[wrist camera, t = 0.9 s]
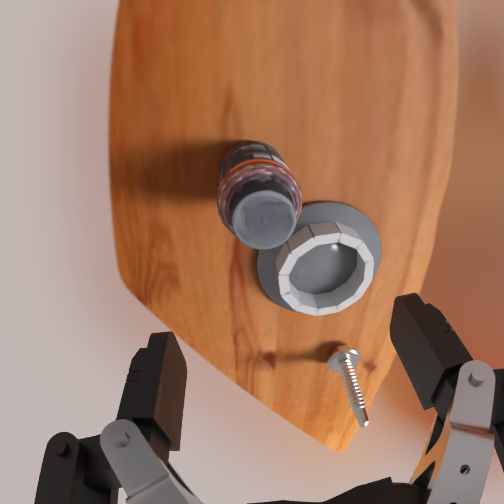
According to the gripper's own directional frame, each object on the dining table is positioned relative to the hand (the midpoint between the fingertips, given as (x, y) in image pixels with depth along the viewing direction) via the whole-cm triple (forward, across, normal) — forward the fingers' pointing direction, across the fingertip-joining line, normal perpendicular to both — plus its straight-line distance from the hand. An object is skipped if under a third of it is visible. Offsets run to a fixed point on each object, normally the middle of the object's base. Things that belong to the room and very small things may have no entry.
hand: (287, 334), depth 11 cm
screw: (+21, -9, +27) cm, 35 cm away
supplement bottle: (+21, 0, 0) cm, 21 cm away
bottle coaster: (+21, -6, +11) cm, 24 cm away
